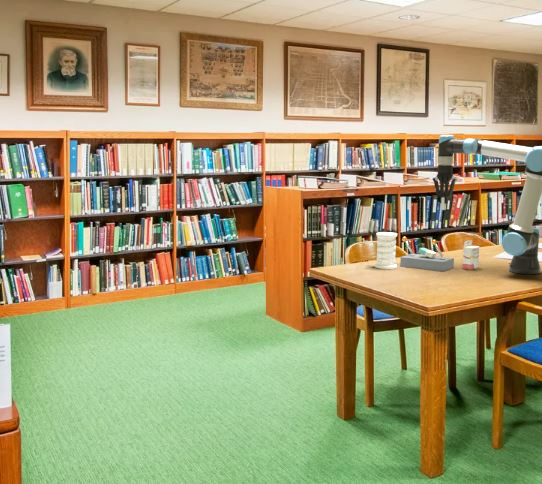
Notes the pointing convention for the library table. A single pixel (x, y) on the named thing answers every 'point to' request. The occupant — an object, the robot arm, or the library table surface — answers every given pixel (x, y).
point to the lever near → (436, 246)
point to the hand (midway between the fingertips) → (443, 209)
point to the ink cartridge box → (470, 256)
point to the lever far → (407, 244)
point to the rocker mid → (427, 252)
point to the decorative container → (386, 250)
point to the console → (427, 262)
